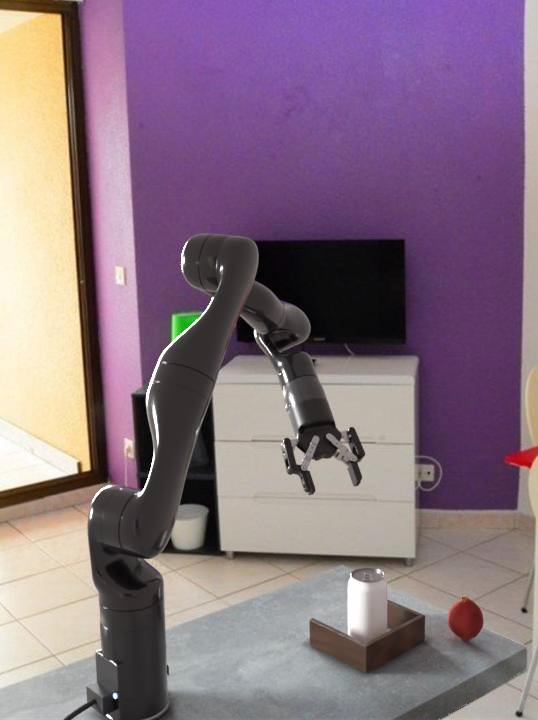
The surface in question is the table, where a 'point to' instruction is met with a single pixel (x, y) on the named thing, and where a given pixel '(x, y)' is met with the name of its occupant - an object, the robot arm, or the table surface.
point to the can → (367, 604)
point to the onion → (465, 619)
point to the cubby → (377, 651)
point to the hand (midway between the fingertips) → (335, 488)
